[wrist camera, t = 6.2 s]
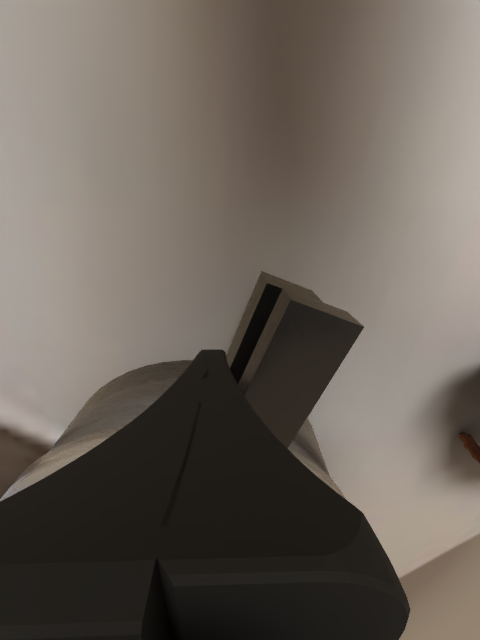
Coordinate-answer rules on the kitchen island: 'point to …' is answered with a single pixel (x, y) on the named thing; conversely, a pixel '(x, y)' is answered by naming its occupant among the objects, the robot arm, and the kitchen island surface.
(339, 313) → the cooker lid
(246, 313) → the cooker pot
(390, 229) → the kitchen island surface
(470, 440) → the pottery mug
